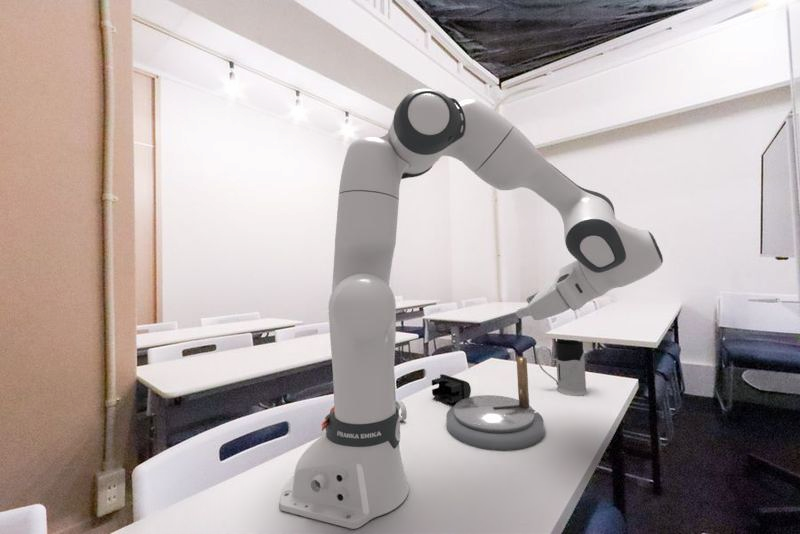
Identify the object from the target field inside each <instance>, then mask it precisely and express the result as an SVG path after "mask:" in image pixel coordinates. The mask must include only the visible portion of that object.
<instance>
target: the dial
mask: <svg viewBox="0 0 800 534" xmlns="http://www.w3.org/2000/svg"><path fill="white" fill-rule="evenodd" d="M527 359H528V358H527V357H525V356H517V357H516V372H517V373H516V376H517V392H518V395H517V396H518V399H517V398H513V397H509V396H505V395H504V396H503V395H495V394H493V395H492V394H491V395H490V394H488V395H487V394H486V395H485V394H484V395H483V394H482V395H474V396H470V397H469V398H465V399H463V400H461V401H459V402H457V403H456V404H455V406H454V416H455V418H456V420H457V421H458V422H460V423H461V424H463V425H465V426H467V427H469V428H472V429H475V430H479V431H484V432H493V433H508V432H515V431H520V430H523V429H526V428H528V427H529V426H531V425H532V424H533V422H534V410H535V409H534V408H532V406H531V405H530V397H529V396H530V392H529V379H528V362H527V361H528V360H527ZM533 409H534V410H533Z"/></svg>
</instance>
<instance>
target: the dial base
mask: <svg viewBox="0 0 800 534" xmlns="http://www.w3.org/2000/svg"><path fill="white" fill-rule="evenodd" d="M532 409H533V410H534V422H533V424H532V425H531V426H529V427H528V428H526V429H523V430H520V431H515V432H508V433H493V432H484V431H479V430H475V429H472V428H469V427H467V426H465V425H463V424H461V423H460V422H458V421H457V420H456V418H455V416H454V406H453V407H450V408H449V409H448V411H447V412H446V429H447V431H448V434H450V435H451V436H452V437H453V438H454V439H457V440H458V441H459V442H462V443H464V444H466V445H469V446H471V447H475V448H480V449H484V450H490V451H515V450H521V449H526V448H529V447H531V446H534V445H536V444H538V443H539V442H540V441H542V439H543V438H544V436H545V425H544V424H545V423H544V419H543V418H544V417H543V416H542V415H541V414H540V413H539V412H538V411H537V410H535V409H534V408H532Z"/></svg>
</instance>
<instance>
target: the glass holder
mask: <svg viewBox="0 0 800 534" xmlns="http://www.w3.org/2000/svg"><path fill="white" fill-rule="evenodd" d="M583 343H584V342H582V341H579V340H572V339H562V340H556V341H555V348H556V351H555V352H556V358H553V356H552V352H551V349H550V348H549V347H547V346H544V345H541V346H539V347H538V348H537V349H536V351H535V357H536V361H537V363H538V365H539V368H540V369H541V370H542V371H543V373H545V374H546V375H547V376H549V377H550V378H551V379H553V380H554V381H555V382H556V385H557V387H556V391H557V393H558V394H561V393H562V395H565V396H571V397H581V395H584V396H586V394H587V393H589V391H588V390H587V383H586V381H587V380H586V365H585V351H584V344H583ZM542 348H545V349H547V350H548V352H549V358H550V360H552V361H555V362H556V376H557V379H556V378H555V377H553V376H552V375H551V374H550V373H548V372H547V371H546V370H545V369H544V368H543V367H542V365H541V364H540V361H539V358H538V351H539V349H542ZM587 395H588V394H587Z"/></svg>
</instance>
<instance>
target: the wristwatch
mask: <svg viewBox="0 0 800 534" xmlns="http://www.w3.org/2000/svg"><path fill="white" fill-rule="evenodd" d="M396 407H397V408H398V412H399V413H400V409H401V413H400V414H399V418H400V422H402V421H405V420H406V419H407V415H408V414H407V407H406V405H405V403H404V401H402V400H401V399H399V400H396Z"/></svg>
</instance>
